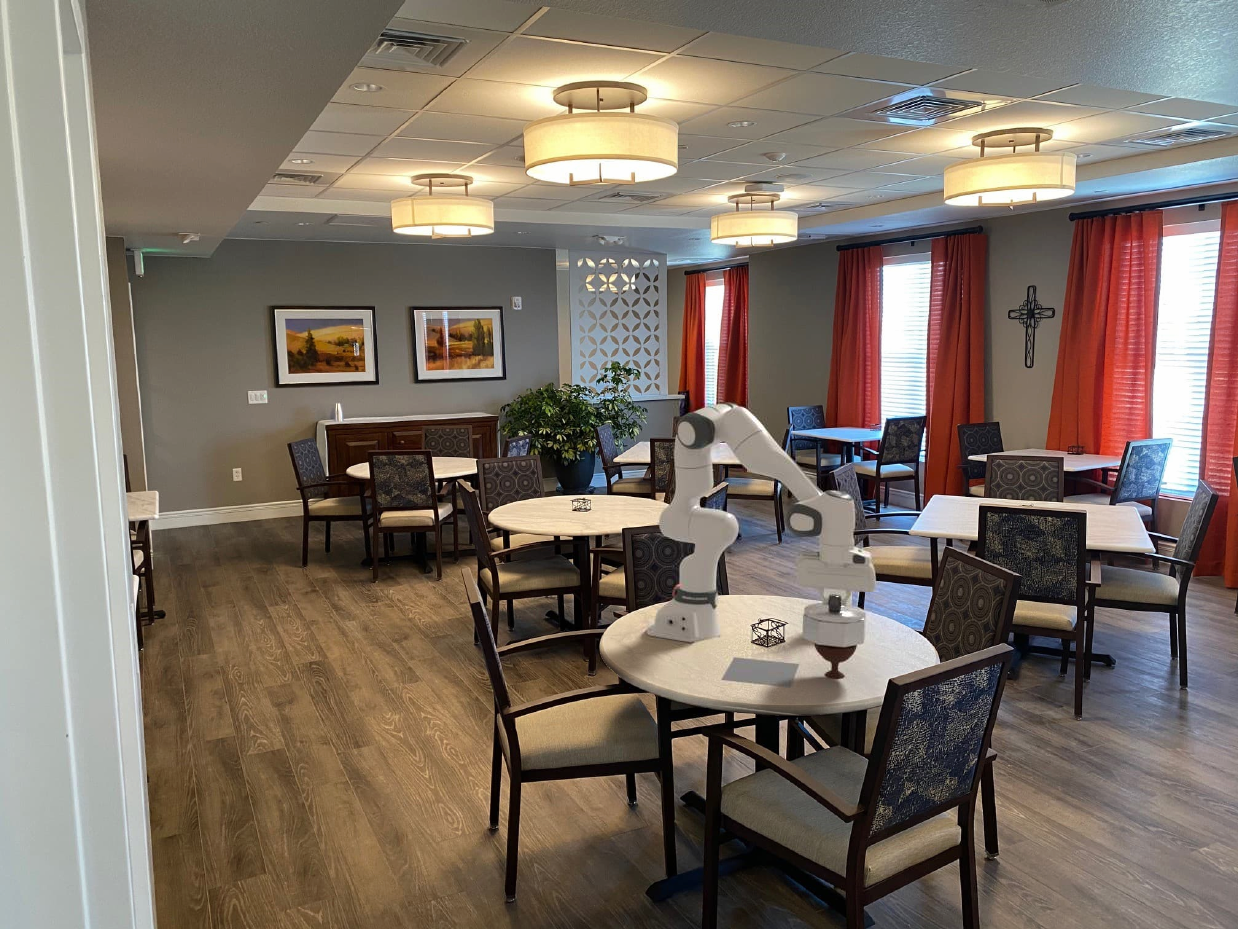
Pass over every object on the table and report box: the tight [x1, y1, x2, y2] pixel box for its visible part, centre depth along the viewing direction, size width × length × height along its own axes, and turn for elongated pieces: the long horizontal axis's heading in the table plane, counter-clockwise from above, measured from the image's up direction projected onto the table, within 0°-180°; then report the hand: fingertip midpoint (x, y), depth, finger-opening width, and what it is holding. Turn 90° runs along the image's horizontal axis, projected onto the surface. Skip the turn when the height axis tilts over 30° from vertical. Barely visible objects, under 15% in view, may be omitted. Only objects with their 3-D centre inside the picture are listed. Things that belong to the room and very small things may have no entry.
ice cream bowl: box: [813, 642, 858, 680], centre depth 239 cm, size 11×11×15 cm
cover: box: [802, 594, 867, 647], centre depth 238 cm, size 16×16×11 cm
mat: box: [721, 656, 800, 688], centre depth 243 cm, size 18×18×1 cm
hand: (834, 605), depth 237 cm, fingers closed on cover, 3 cm apart
